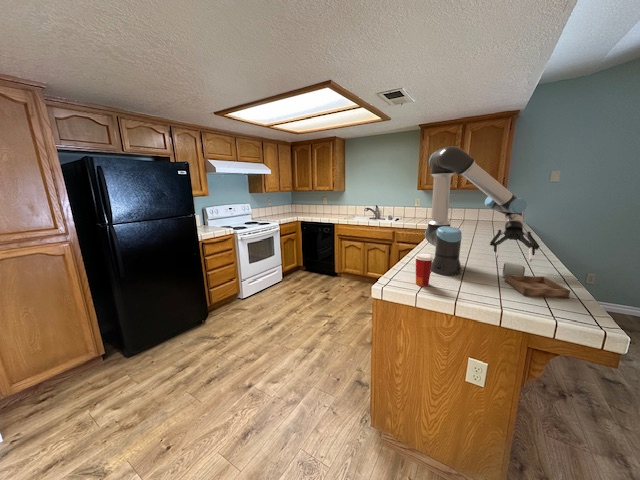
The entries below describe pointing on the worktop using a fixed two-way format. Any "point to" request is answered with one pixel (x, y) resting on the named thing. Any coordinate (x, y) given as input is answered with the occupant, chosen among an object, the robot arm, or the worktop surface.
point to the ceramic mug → (513, 269)
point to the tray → (537, 286)
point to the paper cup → (423, 269)
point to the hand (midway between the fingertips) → (513, 258)
